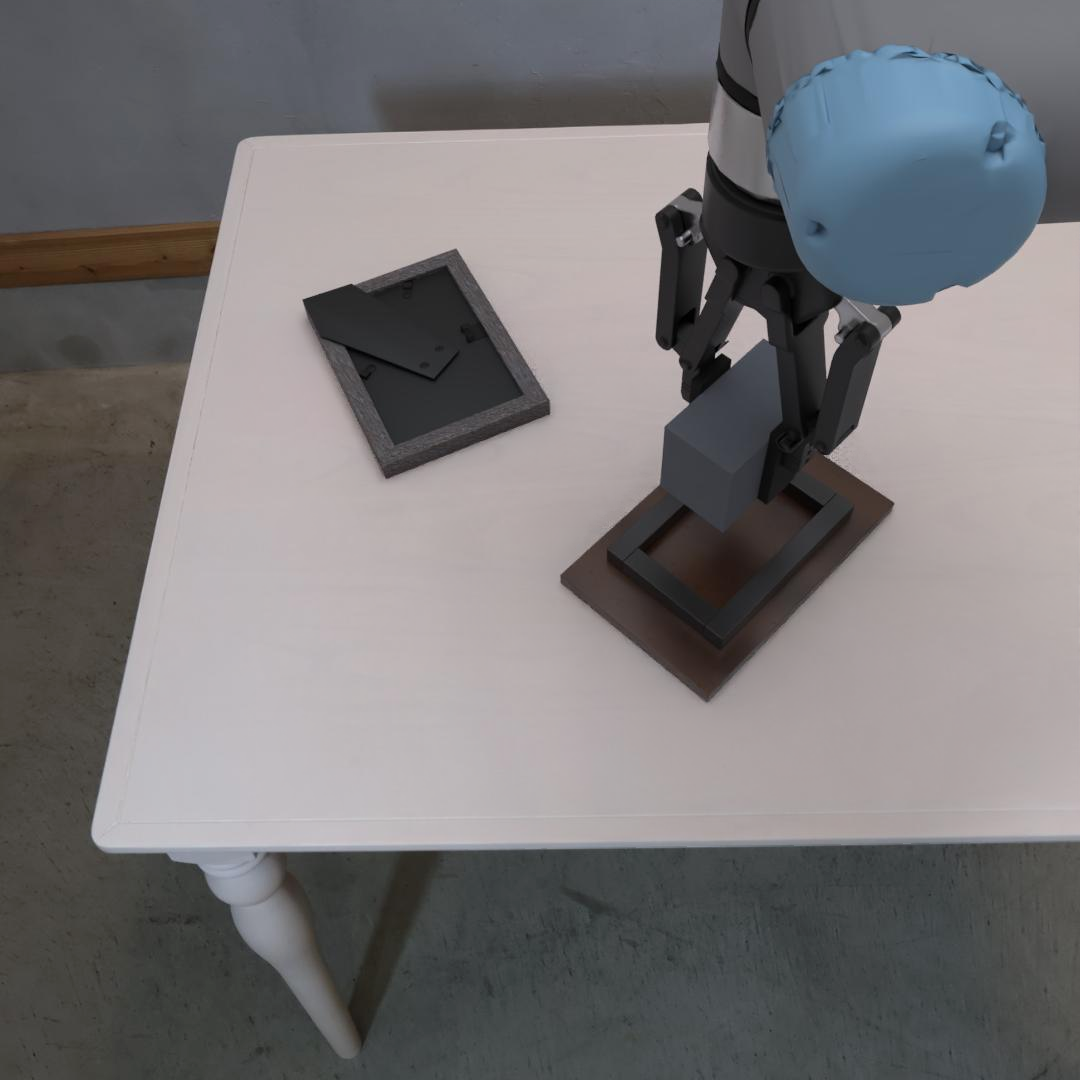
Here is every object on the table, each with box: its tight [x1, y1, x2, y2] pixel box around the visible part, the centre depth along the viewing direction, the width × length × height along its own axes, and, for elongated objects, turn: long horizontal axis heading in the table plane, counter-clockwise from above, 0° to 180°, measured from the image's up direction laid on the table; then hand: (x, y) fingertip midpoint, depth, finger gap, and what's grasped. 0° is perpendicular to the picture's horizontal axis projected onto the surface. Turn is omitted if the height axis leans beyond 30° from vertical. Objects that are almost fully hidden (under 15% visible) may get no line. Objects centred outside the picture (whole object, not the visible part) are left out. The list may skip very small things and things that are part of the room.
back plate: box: [560, 450, 895, 703], centre depth 77 cm, size 20×13×2 cm, turn 136°
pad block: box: [659, 338, 783, 532], centre depth 67 cm, size 9×5×6 cm, turn 136°
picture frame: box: [301, 248, 551, 479], centre depth 87 cm, size 13×2×18 cm
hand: (738, 461), depth 70 cm, fingers closed on pad block, 5 cm apart
